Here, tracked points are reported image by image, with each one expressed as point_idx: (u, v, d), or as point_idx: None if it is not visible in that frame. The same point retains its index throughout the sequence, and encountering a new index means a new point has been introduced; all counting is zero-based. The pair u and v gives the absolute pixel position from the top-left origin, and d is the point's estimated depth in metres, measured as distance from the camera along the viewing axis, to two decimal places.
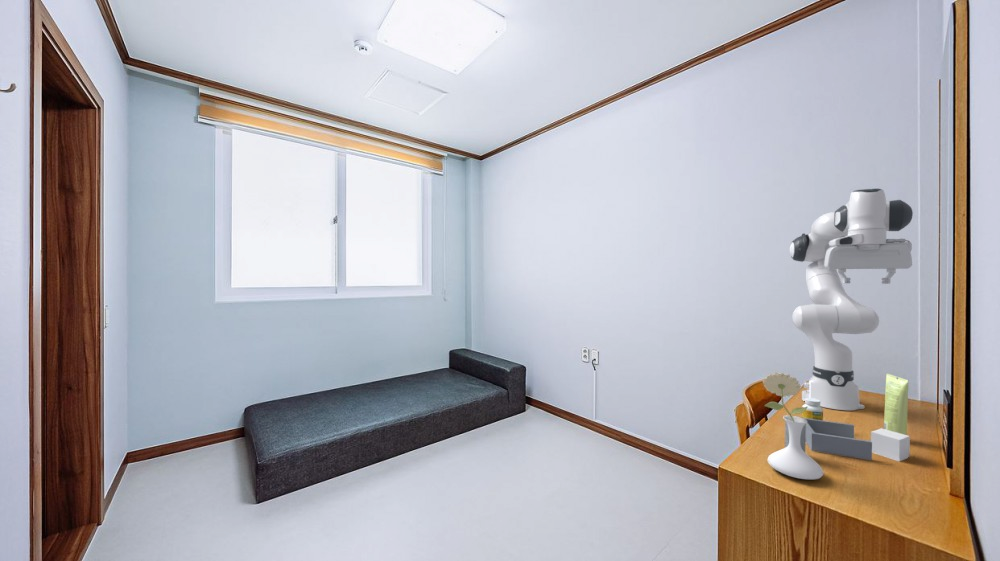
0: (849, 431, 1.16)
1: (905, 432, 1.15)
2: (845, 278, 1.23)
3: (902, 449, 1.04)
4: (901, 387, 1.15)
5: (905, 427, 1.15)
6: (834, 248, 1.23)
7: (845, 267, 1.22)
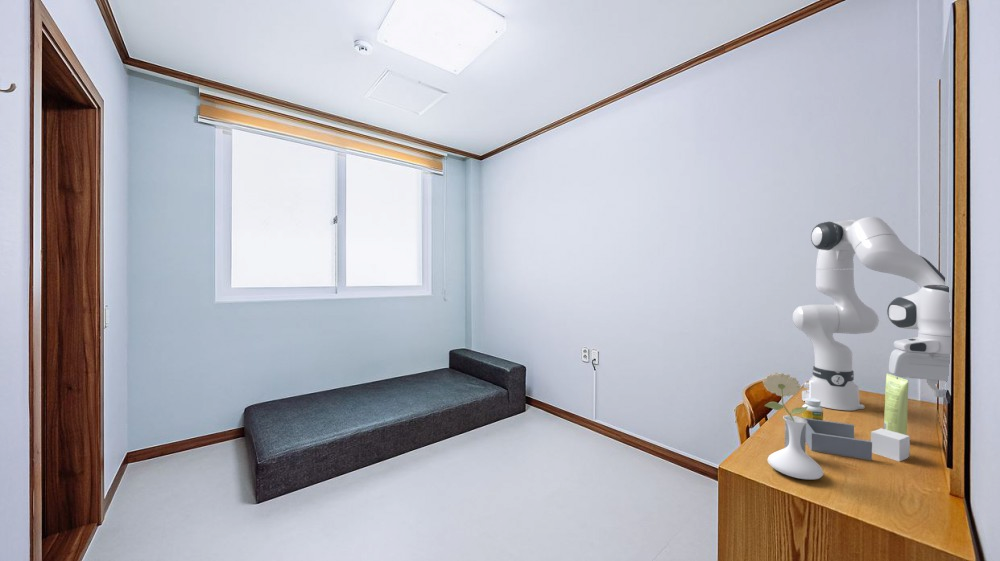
0: (849, 431, 1.16)
1: (905, 432, 1.15)
2: (937, 391, 1.02)
3: (902, 449, 1.04)
4: (901, 387, 1.15)
5: (905, 427, 1.15)
6: (903, 354, 1.04)
7: (916, 377, 1.04)
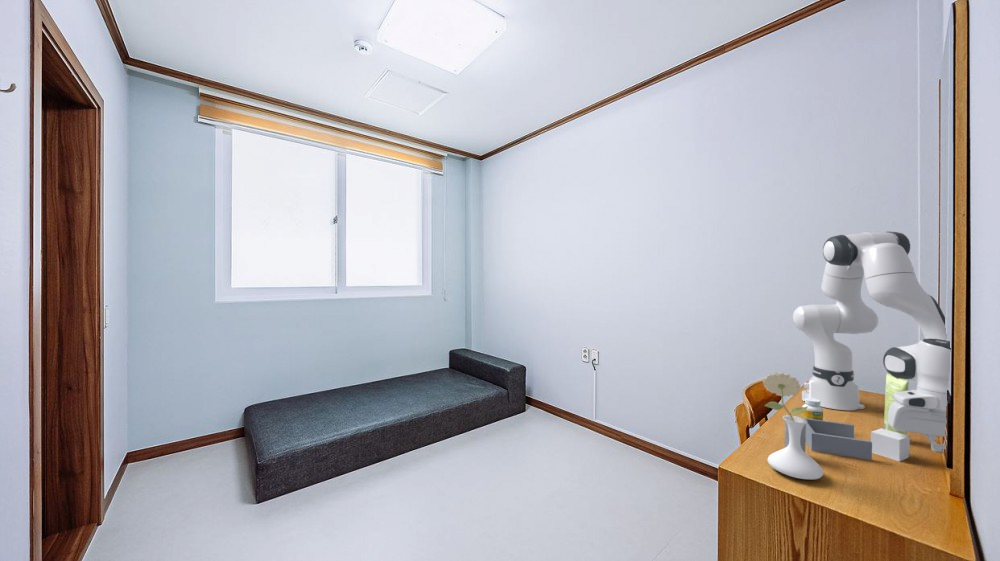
0: (849, 431, 1.16)
1: (905, 432, 1.15)
2: (935, 446, 1.03)
3: (902, 449, 1.04)
4: (901, 387, 1.15)
5: None
6: (902, 408, 1.04)
7: (915, 431, 1.04)
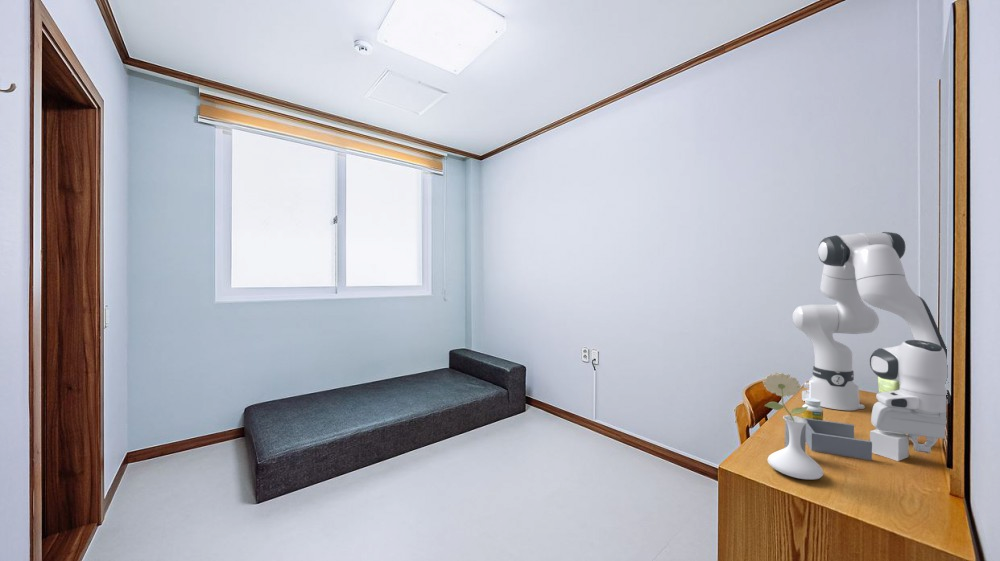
0: (849, 431, 1.16)
1: None
2: (918, 446, 1.04)
3: (901, 448, 1.04)
4: (893, 386, 1.16)
5: None
6: (885, 408, 1.06)
7: (898, 431, 1.05)
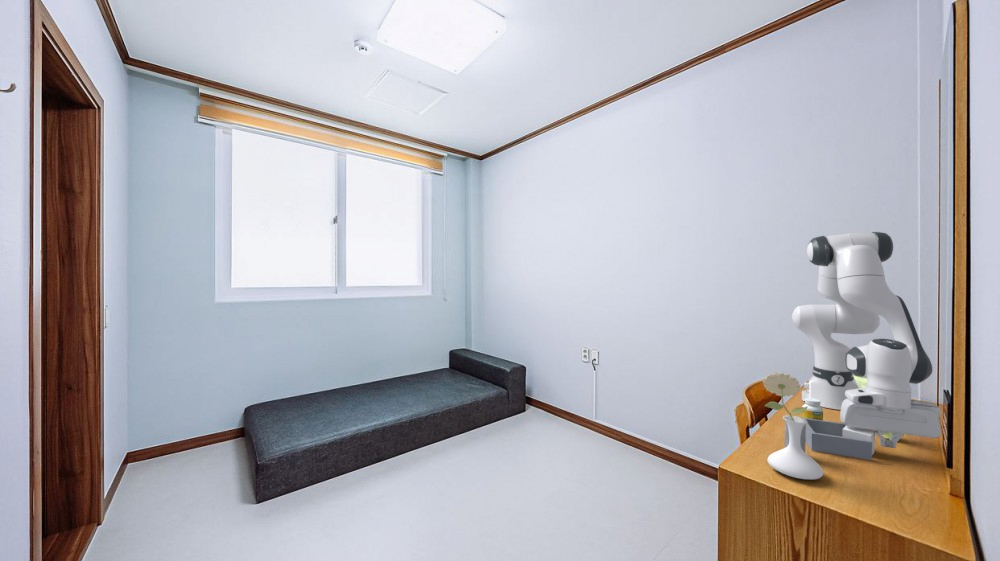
0: None
1: None
2: (883, 441, 1.08)
3: None
4: None
5: None
6: (852, 405, 1.09)
7: (864, 427, 1.09)
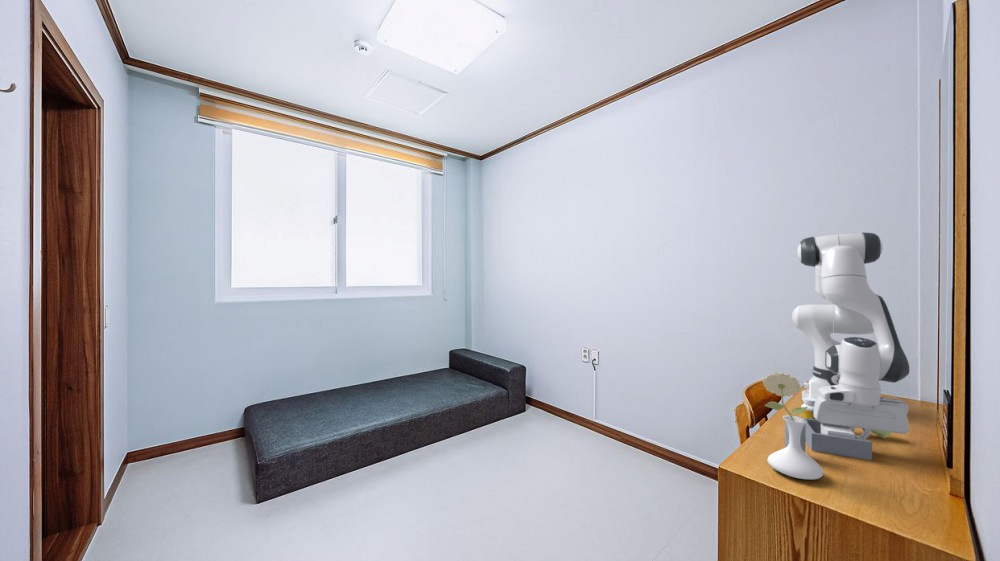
0: None
1: None
2: None
3: None
4: None
5: None
6: (824, 402, 1.12)
7: (836, 423, 1.12)
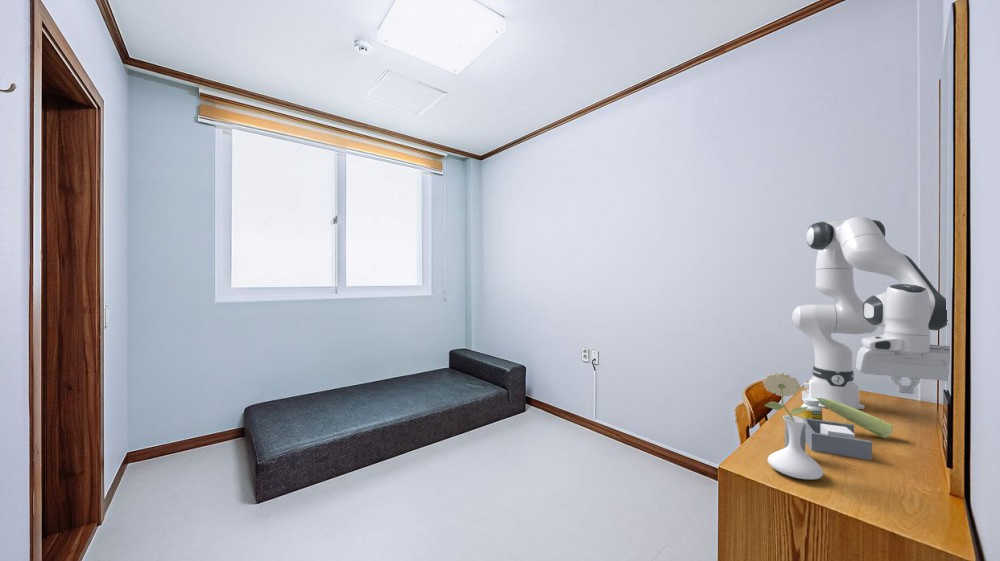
0: None
1: (880, 423, 1.18)
2: (900, 387, 1.06)
3: None
4: (827, 404, 1.22)
5: (874, 420, 1.18)
6: (868, 351, 1.08)
7: (881, 373, 1.07)
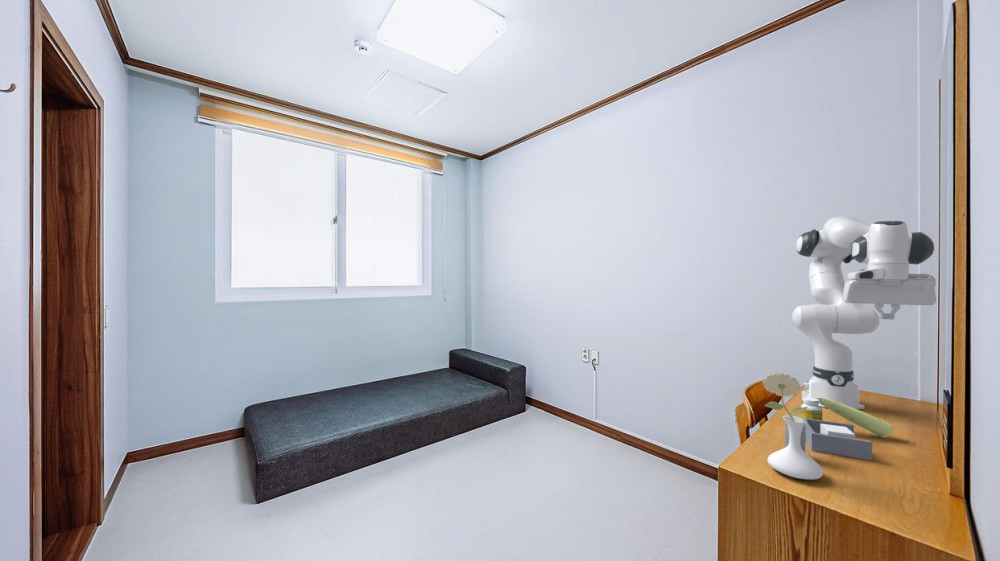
0: None
1: (880, 423, 1.18)
2: (882, 314, 1.16)
3: None
4: (827, 404, 1.22)
5: (874, 420, 1.18)
6: (854, 282, 1.18)
7: (865, 302, 1.17)
